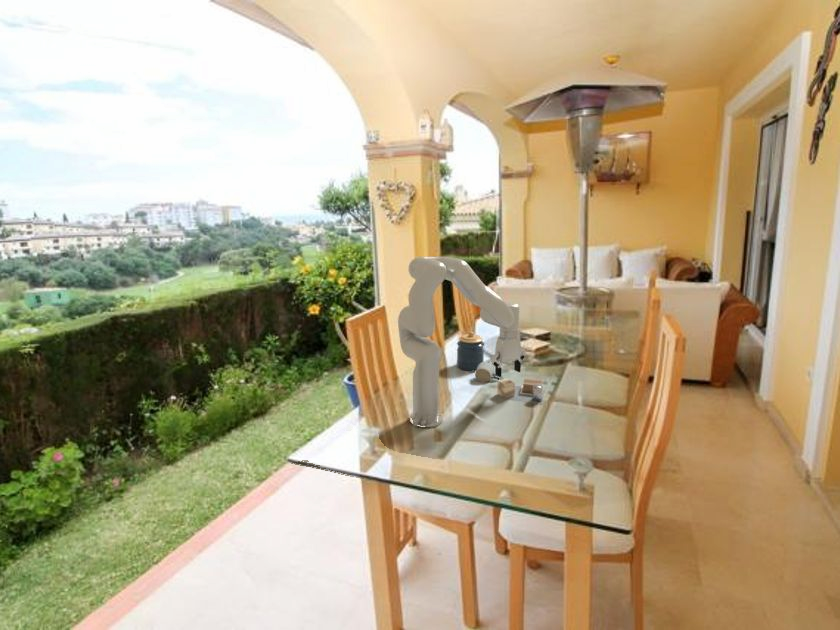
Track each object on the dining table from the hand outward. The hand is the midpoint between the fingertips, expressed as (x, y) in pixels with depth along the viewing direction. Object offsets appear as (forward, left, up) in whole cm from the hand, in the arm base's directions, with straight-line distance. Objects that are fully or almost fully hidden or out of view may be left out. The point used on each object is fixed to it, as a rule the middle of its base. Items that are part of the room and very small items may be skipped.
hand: (507, 373), depth 198 cm
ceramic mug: (+15, +11, -11) cm, 22 cm away
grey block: (-1, -12, -9) cm, 16 cm away
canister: (+31, +21, -11) cm, 39 cm away
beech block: (0, 0, -9) cm, 9 cm away
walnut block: (+8, -10, -9) cm, 15 cm away
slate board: (+5, -6, -10) cm, 13 cm away
